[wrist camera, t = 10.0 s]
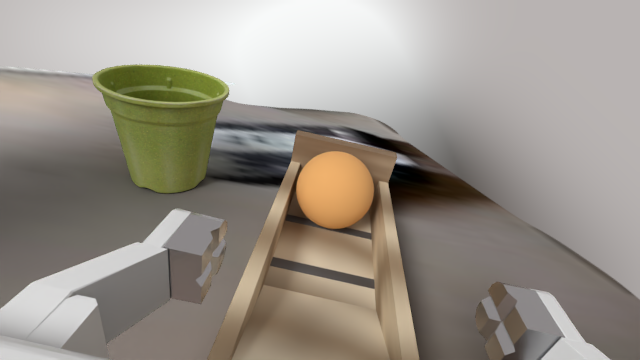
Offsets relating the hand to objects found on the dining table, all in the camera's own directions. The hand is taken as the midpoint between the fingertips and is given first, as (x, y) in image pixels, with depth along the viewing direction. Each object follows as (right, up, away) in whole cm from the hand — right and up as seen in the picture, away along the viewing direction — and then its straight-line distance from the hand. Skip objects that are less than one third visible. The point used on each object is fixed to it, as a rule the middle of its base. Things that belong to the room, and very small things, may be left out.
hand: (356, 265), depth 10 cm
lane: (-1, -5, +11) cm, 12 cm away
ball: (0, +1, +18) cm, 18 cm away
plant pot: (-15, +3, +19) cm, 24 cm away
